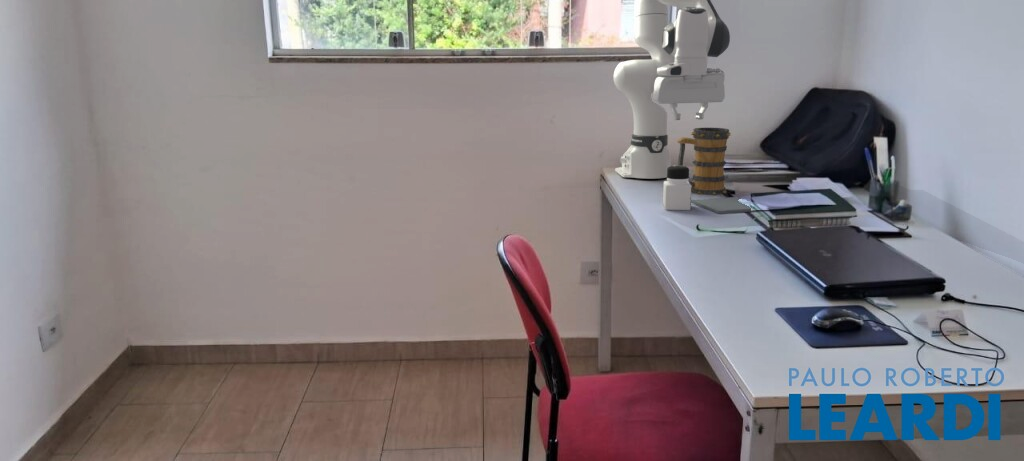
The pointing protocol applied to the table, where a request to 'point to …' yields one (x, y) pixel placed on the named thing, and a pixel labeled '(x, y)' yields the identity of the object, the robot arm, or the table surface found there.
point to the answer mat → (722, 205)
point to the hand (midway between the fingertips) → (688, 119)
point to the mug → (707, 159)
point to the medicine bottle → (677, 189)
